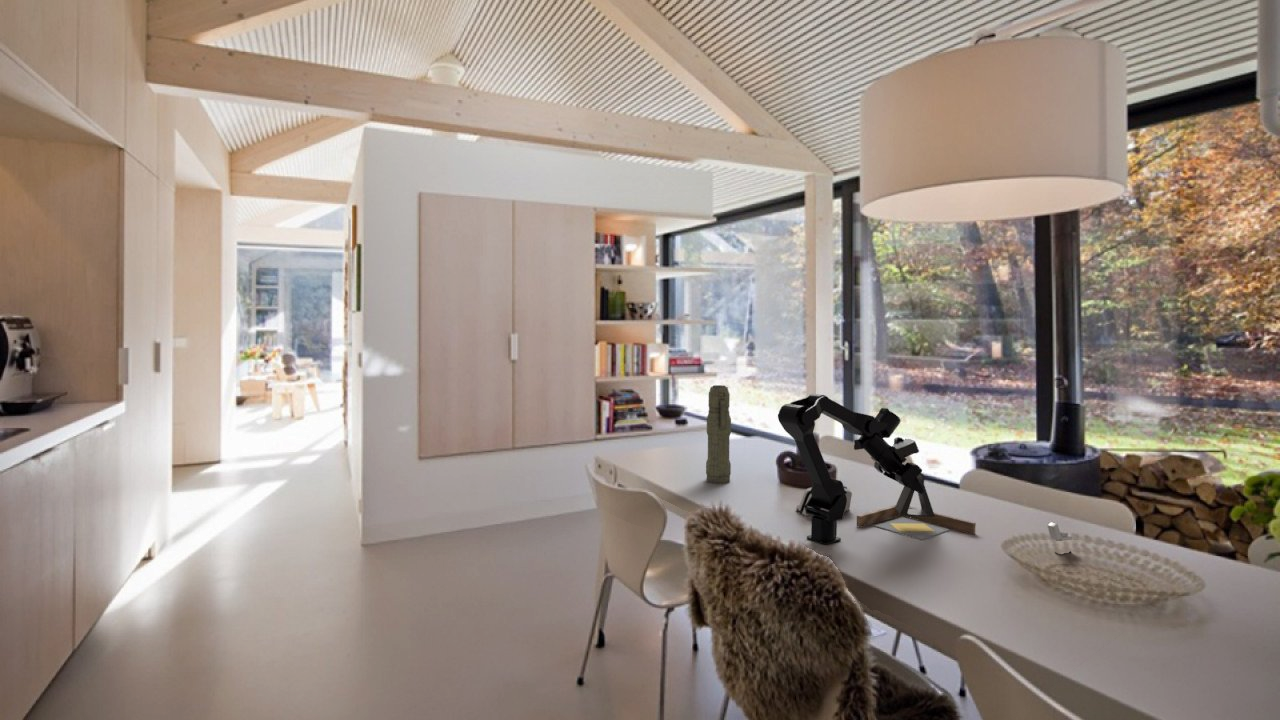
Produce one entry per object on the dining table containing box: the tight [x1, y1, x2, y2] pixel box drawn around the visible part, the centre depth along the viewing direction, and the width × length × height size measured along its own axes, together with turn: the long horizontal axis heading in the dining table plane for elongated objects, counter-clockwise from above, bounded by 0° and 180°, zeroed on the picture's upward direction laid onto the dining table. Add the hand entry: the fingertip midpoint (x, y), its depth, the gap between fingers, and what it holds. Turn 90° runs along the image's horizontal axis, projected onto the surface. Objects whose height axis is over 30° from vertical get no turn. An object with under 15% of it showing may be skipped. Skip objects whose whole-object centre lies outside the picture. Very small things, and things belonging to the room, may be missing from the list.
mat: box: [874, 516, 951, 541], centre depth 174 cm, size 14×14×1 cm
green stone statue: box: [705, 384, 732, 484], centre depth 228 cm, size 9×12×35 cm
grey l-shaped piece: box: [1047, 522, 1073, 541], centre depth 155 cm, size 7×2×8 cm, turn 113°
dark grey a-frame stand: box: [895, 472, 935, 517], centre depth 174 cm, size 9×6×12 cm, turn 80°
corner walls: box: [856, 504, 977, 535], centre depth 173 cm, size 21×23×3 cm
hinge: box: [795, 484, 853, 516], centre depth 190 cm, size 17×5×10 cm, turn 111°
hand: (917, 489), depth 173 cm, fingers closed on dark grey a-frame stand, 6 cm apart
